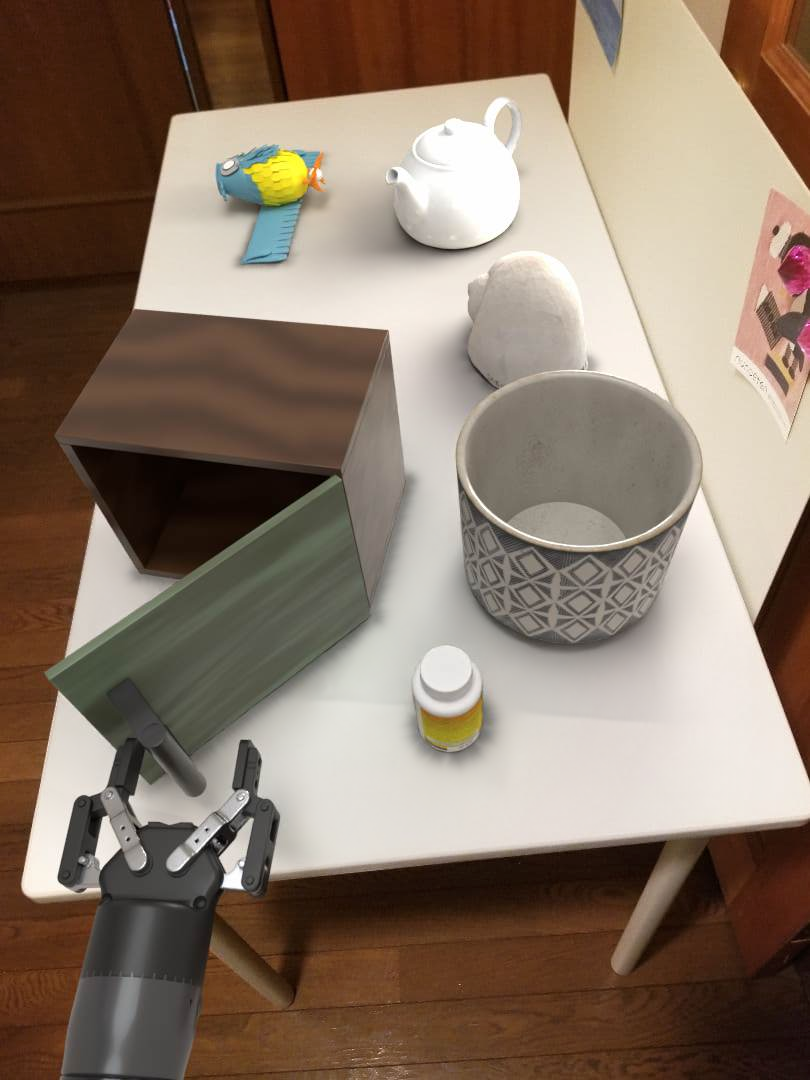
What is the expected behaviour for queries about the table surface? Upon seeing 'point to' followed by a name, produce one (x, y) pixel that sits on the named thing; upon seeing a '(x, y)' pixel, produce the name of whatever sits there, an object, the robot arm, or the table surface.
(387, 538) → the cupboard
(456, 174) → the teapot
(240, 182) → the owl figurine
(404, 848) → the table surface
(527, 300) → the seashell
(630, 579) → the planter
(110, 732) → the cupboard door
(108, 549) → the table surface
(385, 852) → the table surface
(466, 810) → the table surface
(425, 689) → the supplement bottle
